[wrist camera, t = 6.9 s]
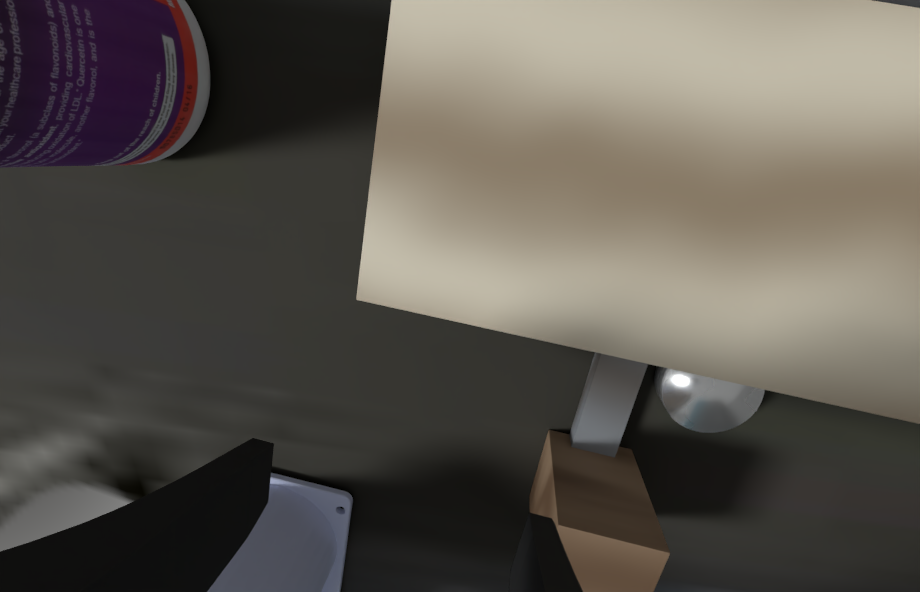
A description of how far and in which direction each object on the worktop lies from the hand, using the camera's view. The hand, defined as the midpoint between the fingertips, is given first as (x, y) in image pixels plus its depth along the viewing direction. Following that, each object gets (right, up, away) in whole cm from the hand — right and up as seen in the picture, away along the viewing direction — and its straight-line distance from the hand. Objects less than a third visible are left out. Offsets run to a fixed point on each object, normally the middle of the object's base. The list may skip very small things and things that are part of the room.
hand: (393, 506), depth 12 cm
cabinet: (+9, +10, +6) cm, 15 cm away
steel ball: (+13, +2, +8) cm, 15 cm away
